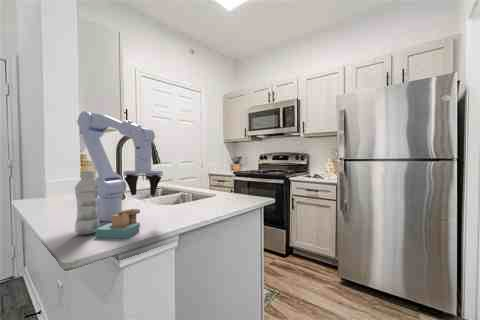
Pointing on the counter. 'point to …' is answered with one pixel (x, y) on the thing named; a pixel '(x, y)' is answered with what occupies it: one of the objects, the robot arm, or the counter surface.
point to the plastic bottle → (87, 204)
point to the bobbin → (132, 215)
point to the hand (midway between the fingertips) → (143, 195)
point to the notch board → (117, 231)
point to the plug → (120, 220)
